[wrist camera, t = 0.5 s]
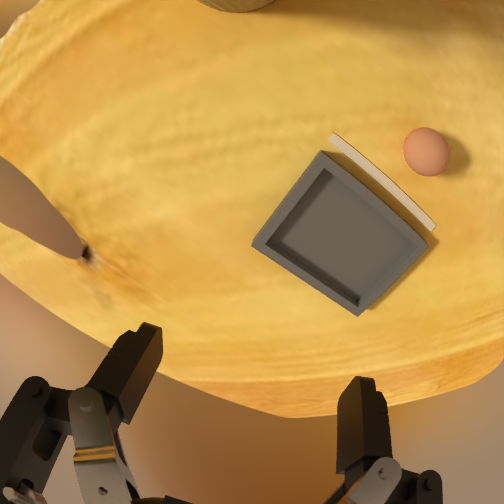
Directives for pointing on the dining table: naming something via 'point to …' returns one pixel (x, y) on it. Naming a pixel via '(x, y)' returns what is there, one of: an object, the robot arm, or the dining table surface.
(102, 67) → the dining table surface
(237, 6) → the potted cactus
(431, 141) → the ball
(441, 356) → the dining table surface
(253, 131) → the dining table surface
